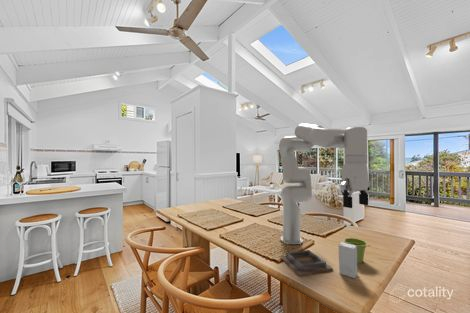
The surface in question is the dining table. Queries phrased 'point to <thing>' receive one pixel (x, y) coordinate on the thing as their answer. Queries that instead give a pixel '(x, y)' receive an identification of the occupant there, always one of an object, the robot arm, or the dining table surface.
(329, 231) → the dining table surface
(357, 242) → the plant pot
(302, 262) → the slot holder
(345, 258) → the skincare box
